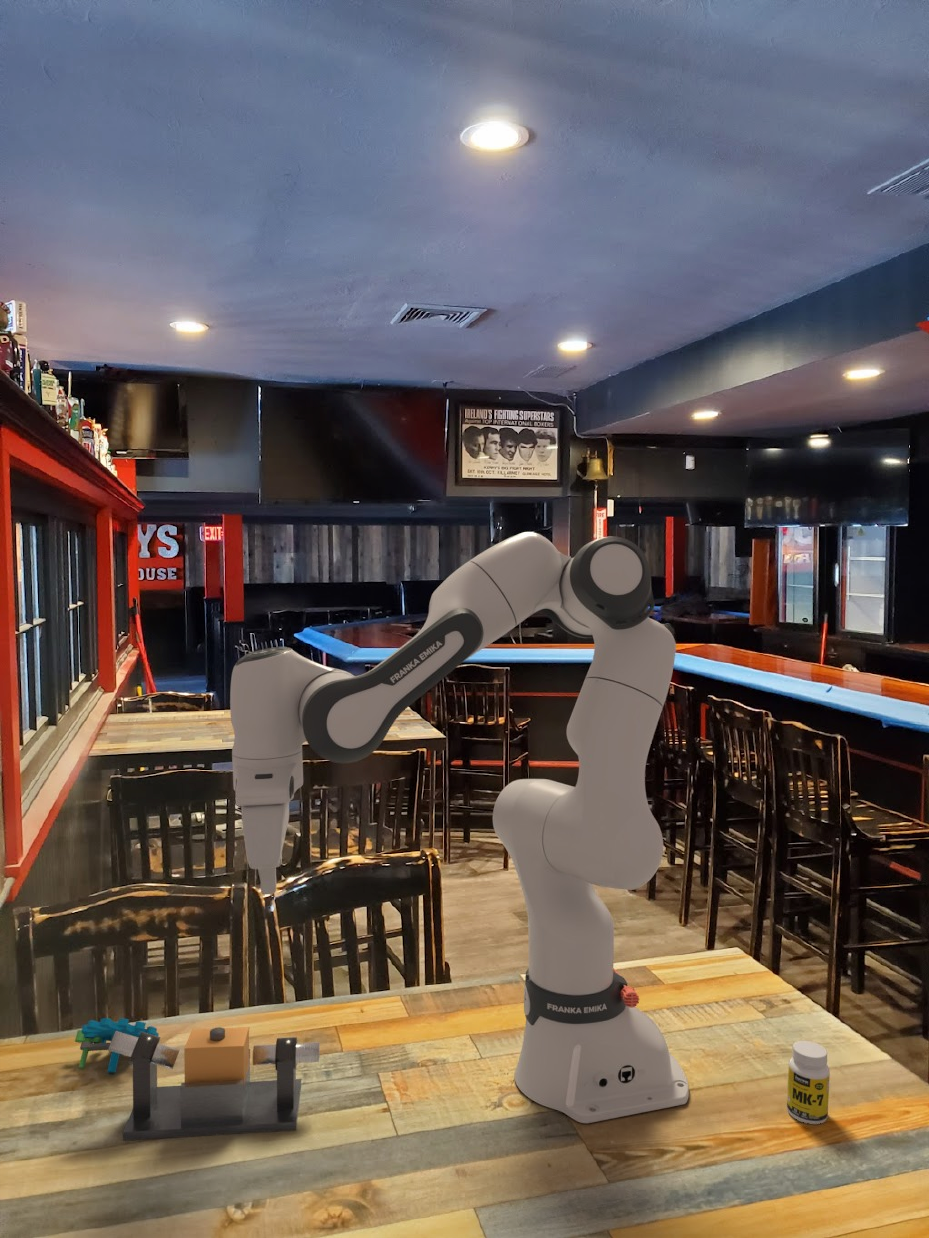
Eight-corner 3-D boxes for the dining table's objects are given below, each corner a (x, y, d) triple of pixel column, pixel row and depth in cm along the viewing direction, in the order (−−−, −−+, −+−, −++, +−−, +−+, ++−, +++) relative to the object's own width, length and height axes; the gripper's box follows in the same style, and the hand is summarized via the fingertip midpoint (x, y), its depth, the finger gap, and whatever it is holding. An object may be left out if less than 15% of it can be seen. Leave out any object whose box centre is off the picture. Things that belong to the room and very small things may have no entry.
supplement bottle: (786, 1120, 110) (789, 1054, 109) (786, 1099, 114) (789, 1035, 113) (828, 1129, 108) (831, 1062, 107) (827, 1107, 112) (829, 1042, 112)
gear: (172, 1034, 125) (140, 1010, 118) (162, 1080, 121) (129, 1058, 114) (98, 1039, 126) (63, 1015, 119) (86, 1085, 122) (49, 1063, 115)
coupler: (184, 1088, 107) (184, 1041, 107) (192, 1067, 112) (191, 1022, 111) (243, 1085, 108) (243, 1039, 108) (249, 1065, 112) (248, 1020, 112)
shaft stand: (320, 1085, 116) (320, 1004, 115) (317, 1128, 107) (317, 1041, 106) (119, 1096, 113) (118, 1013, 112) (99, 1141, 104) (97, 1052, 103)
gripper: (251, 756, 125) (255, 852, 126) (233, 796, 104) (238, 910, 105) (297, 754, 125) (300, 849, 126) (288, 793, 105) (292, 907, 106)
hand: (272, 878), depth 116 cm, fingers open, 8 cm apart
